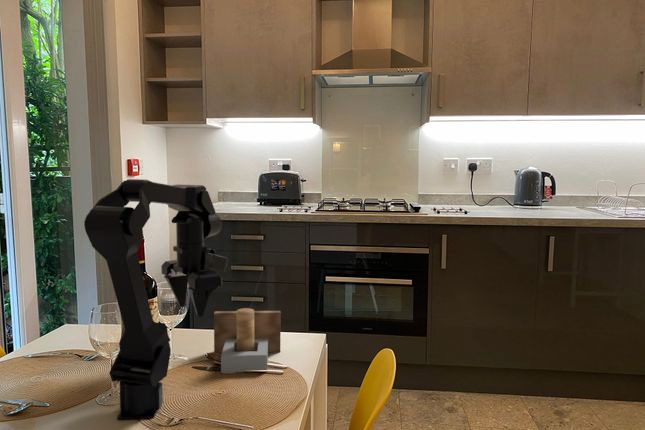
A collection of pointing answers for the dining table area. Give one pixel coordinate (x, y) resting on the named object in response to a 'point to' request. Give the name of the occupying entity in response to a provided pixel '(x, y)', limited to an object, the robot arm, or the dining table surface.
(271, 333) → the backstop board
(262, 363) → the socket block
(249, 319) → the dowel
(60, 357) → the dining table surface
